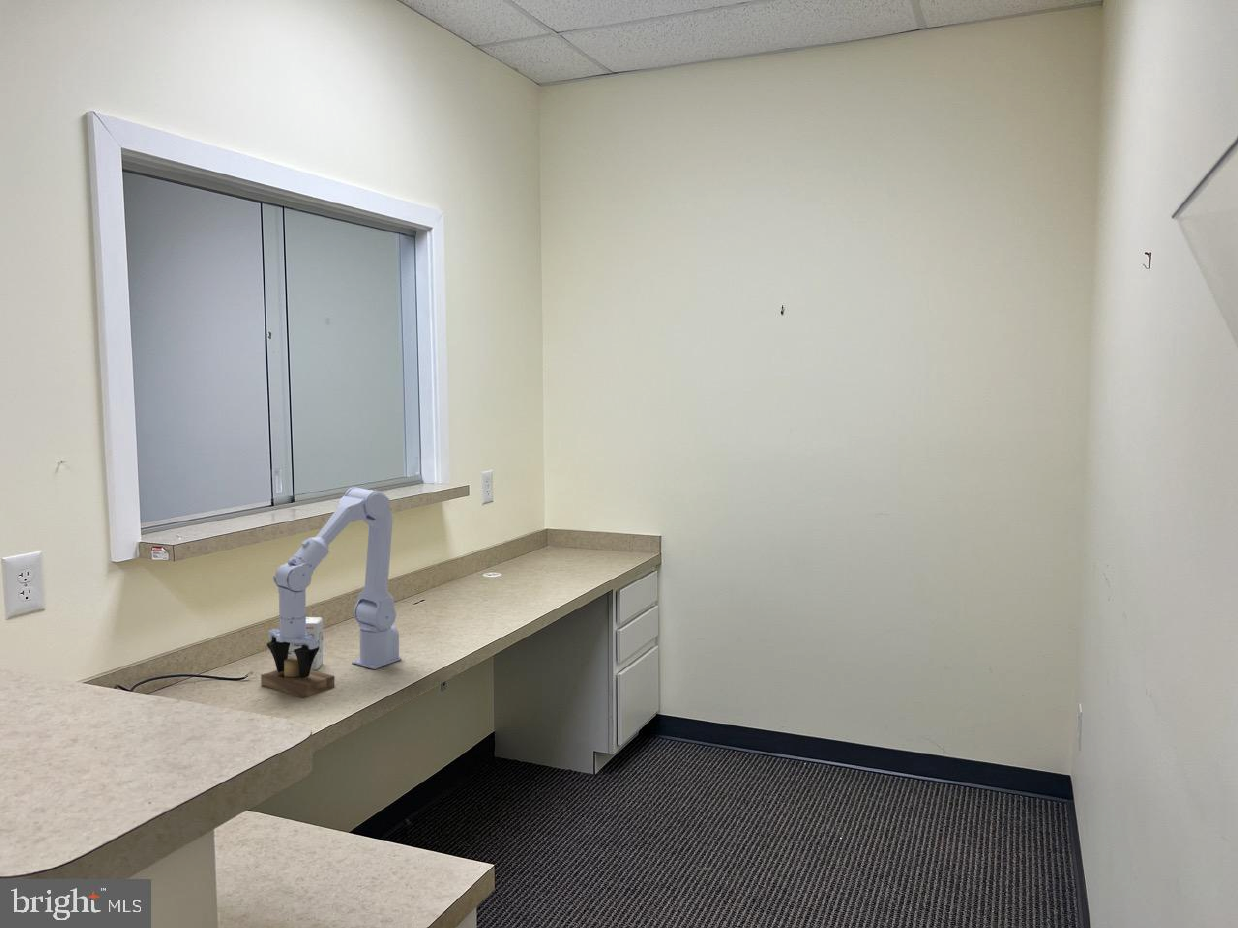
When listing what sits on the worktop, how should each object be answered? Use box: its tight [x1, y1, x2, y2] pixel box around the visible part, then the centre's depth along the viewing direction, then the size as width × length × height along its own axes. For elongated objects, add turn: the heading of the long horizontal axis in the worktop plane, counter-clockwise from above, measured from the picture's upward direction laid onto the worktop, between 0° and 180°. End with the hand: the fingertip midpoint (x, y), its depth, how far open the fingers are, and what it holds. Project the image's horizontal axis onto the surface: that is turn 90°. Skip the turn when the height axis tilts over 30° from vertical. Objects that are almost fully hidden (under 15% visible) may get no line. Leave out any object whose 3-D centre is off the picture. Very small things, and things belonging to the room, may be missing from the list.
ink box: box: [288, 616, 324, 671], centre depth 225 cm, size 9×5×12 cm, turn 91°
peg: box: [284, 658, 300, 680], centre depth 212 cm, size 4×4×6 cm
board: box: [260, 669, 336, 698], centre depth 212 cm, size 9×14×2 cm, turn 59°
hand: (293, 673), depth 212 cm, fingers open, 7 cm apart
